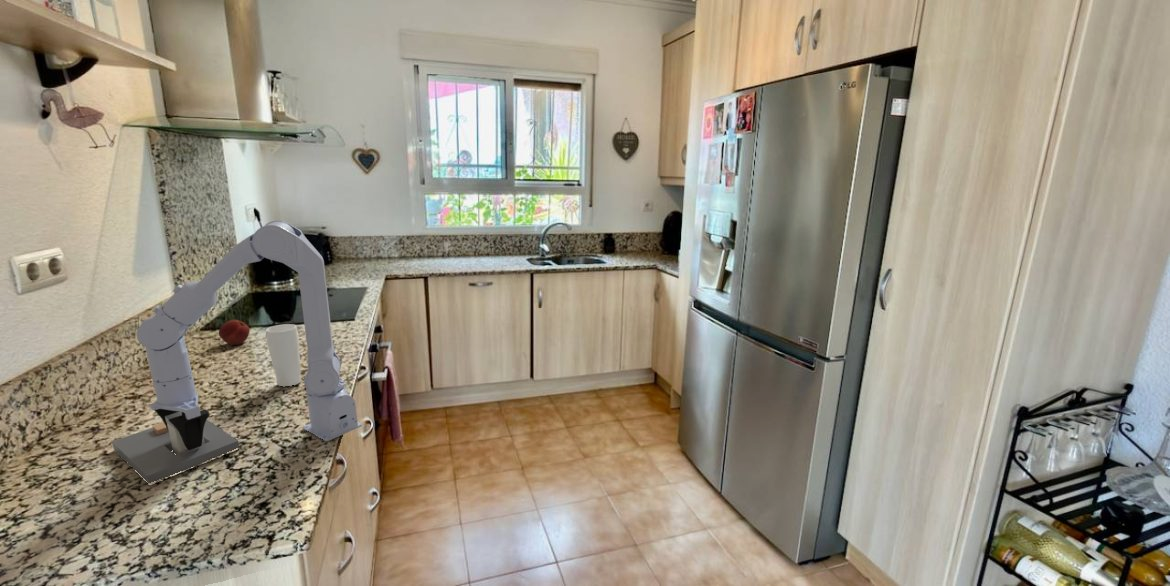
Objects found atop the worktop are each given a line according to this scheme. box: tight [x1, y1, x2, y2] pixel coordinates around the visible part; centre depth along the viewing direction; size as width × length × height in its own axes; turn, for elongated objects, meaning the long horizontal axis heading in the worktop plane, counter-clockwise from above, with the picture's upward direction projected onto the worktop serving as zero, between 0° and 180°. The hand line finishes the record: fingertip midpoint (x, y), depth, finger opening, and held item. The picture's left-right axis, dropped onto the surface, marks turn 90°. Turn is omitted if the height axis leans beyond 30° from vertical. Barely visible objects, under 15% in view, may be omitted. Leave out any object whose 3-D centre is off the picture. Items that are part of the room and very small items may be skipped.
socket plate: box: [111, 419, 240, 483], centre depth 97 cm, size 20×14×3 cm
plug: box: [165, 412, 205, 454], centre depth 96 cm, size 4×4×8 cm
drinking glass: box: [265, 323, 302, 388], centre depth 125 cm, size 7×7×15 cm
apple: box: [218, 319, 250, 346], centre depth 154 cm, size 7×8×8 cm
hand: (186, 441), depth 96 cm, fingers open, 7 cm apart
